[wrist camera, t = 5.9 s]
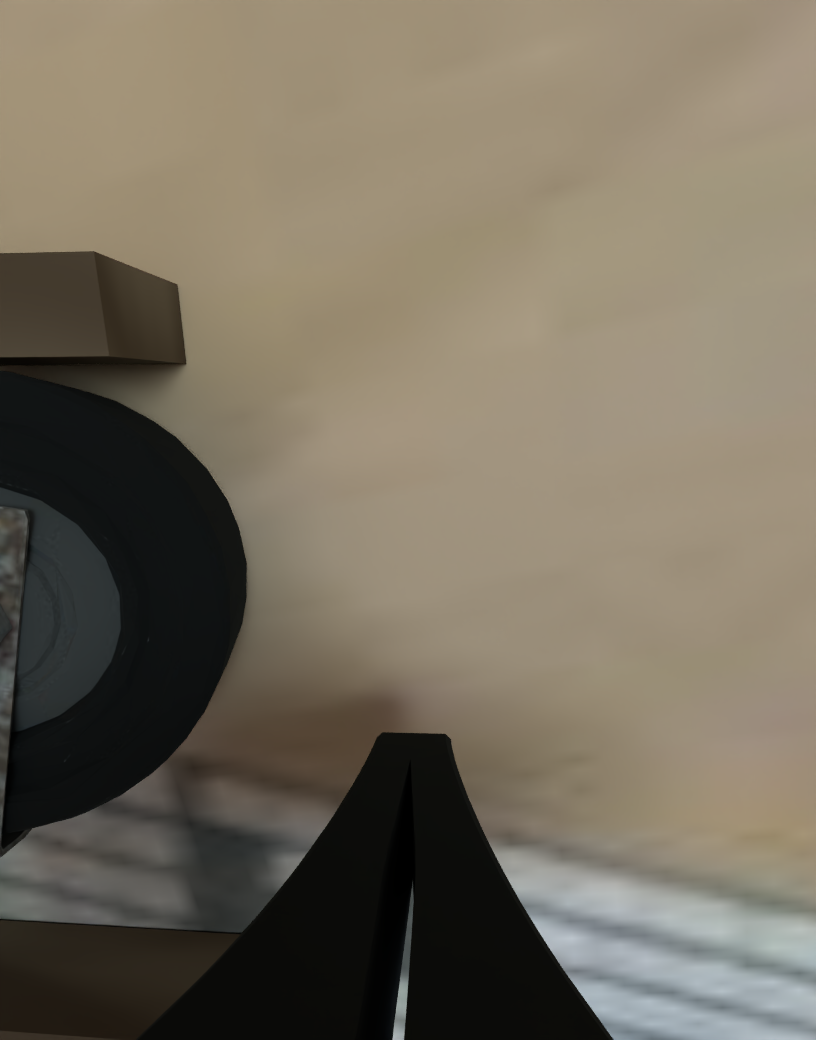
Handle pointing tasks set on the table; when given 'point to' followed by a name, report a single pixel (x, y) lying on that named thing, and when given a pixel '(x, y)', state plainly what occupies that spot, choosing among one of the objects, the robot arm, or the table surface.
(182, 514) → the caster wheel
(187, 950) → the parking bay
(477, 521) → the table surface
